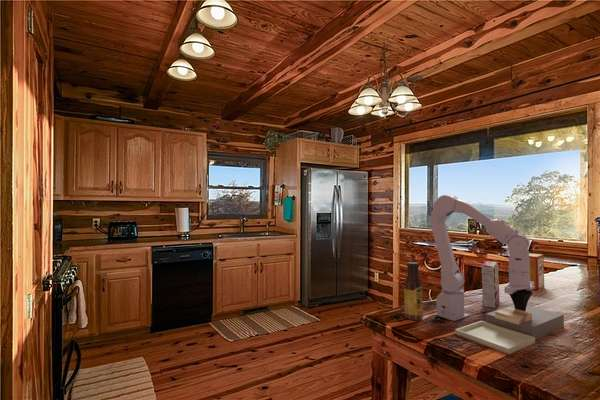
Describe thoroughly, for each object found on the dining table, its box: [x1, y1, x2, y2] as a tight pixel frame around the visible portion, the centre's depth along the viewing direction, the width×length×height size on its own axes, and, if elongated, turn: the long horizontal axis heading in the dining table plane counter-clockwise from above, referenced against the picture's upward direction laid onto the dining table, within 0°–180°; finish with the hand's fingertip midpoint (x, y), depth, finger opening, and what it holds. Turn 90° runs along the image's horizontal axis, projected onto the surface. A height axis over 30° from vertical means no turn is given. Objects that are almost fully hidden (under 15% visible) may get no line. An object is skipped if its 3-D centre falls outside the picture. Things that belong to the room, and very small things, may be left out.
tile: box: [495, 306, 532, 325], centre depth 103 cm, size 8×7×2 cm
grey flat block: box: [485, 304, 565, 341], centre depth 107 cm, size 20×14×4 cm
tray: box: [454, 320, 536, 355], centre depth 98 cm, size 14×16×2 cm
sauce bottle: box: [403, 261, 424, 321], centre depth 117 cm, size 6×6×20 cm
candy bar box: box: [480, 260, 500, 309], centre depth 131 cm, size 11×5×16 cm, turn 143°
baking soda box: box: [527, 252, 545, 292], centre depth 153 cm, size 10×6×16 cm
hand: (520, 312), depth 106 cm, fingers closed
